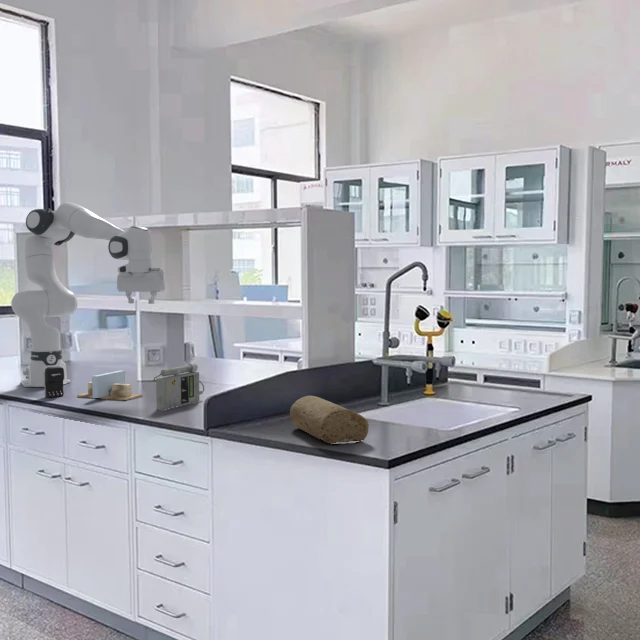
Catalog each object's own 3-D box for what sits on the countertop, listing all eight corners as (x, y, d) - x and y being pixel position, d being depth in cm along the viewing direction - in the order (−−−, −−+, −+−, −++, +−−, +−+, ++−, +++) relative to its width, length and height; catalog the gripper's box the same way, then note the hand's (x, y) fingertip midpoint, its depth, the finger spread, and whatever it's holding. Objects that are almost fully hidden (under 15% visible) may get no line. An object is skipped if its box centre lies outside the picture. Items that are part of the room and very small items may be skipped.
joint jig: (77, 397, 278) (76, 383, 278) (94, 392, 288) (94, 380, 287) (125, 400, 270) (125, 387, 270) (142, 396, 279) (142, 383, 279)
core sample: (329, 425, 228) (329, 392, 227) (369, 443, 204) (369, 407, 203) (286, 429, 222) (286, 396, 222) (322, 448, 198) (322, 411, 197)
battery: (47, 398, 276) (47, 367, 275) (43, 397, 278) (42, 366, 278) (66, 396, 280) (65, 366, 279) (62, 395, 283) (61, 365, 282)
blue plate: (97, 398, 271) (97, 376, 270) (92, 397, 272) (92, 376, 271) (125, 391, 286) (124, 370, 285) (120, 391, 287) (119, 370, 286)
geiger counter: (164, 370, 249) (210, 361, 271) (150, 368, 252) (196, 360, 274) (165, 411, 250) (211, 399, 272) (150, 409, 253) (197, 398, 275)
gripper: (167, 267, 289) (168, 303, 290) (124, 268, 297) (124, 302, 298) (158, 267, 283) (159, 304, 284) (114, 268, 291) (114, 303, 292)
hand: (141, 303), depth 291 cm, fingers open, 8 cm apart
